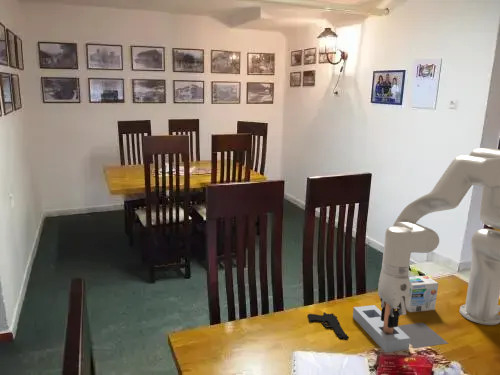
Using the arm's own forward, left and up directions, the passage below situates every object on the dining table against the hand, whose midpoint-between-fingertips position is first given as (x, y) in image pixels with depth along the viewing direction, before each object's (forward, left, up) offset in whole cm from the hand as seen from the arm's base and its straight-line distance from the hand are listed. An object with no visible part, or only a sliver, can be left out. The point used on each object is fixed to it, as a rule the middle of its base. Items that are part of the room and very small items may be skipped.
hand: (389, 323), depth 120 cm
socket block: (0, -5, -6) cm, 8 cm away
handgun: (+15, -12, -7) cm, 20 cm away
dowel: (0, 0, -3) cm, 3 cm away
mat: (-12, -1, -6) cm, 14 cm away
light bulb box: (-23, -17, -7) cm, 30 cm away
